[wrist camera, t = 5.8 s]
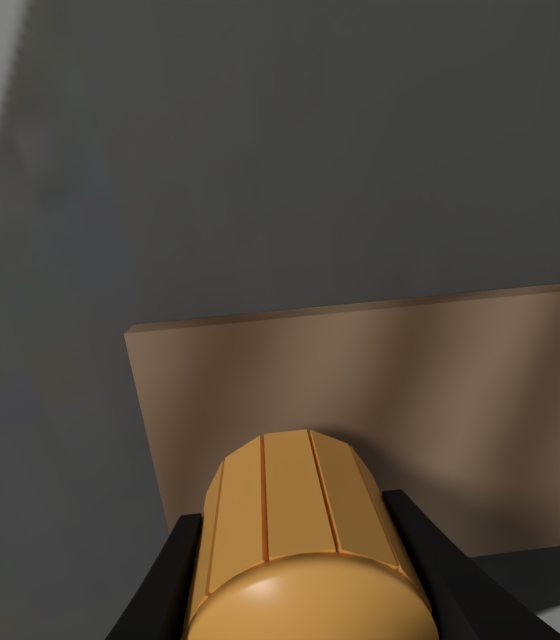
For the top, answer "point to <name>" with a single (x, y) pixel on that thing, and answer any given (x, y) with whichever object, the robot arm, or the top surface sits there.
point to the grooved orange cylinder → (301, 550)
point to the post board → (374, 402)
